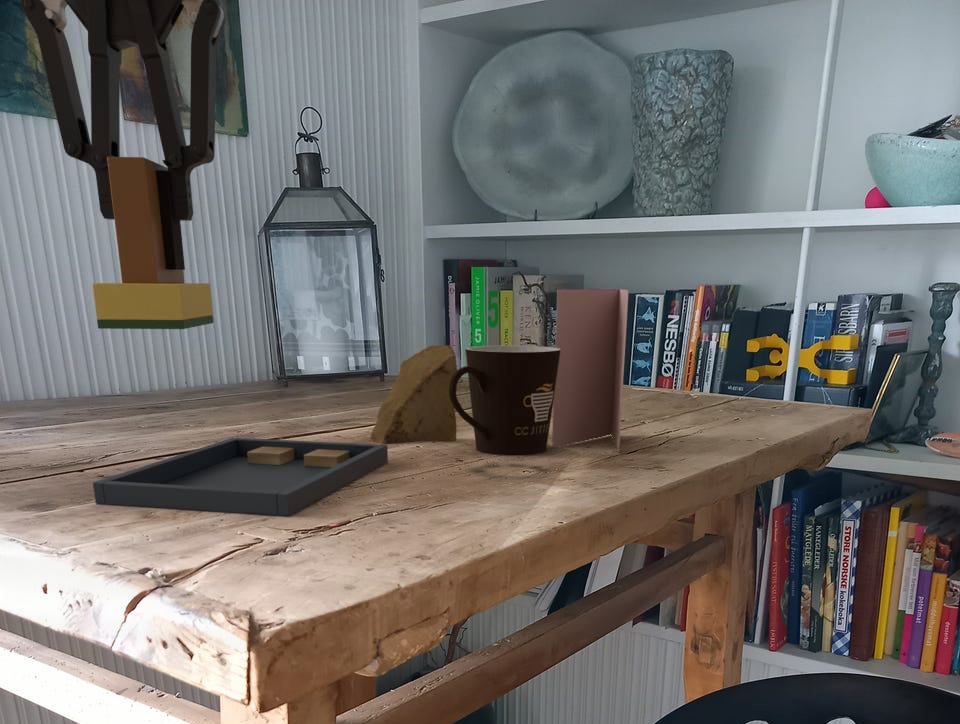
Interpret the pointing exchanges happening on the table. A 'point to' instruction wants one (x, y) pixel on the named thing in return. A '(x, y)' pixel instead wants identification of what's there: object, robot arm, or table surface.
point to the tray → (239, 479)
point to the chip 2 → (325, 458)
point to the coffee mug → (509, 397)
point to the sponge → (145, 260)
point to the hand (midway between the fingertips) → (153, 268)
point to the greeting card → (589, 364)
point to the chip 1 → (270, 455)
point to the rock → (420, 400)
